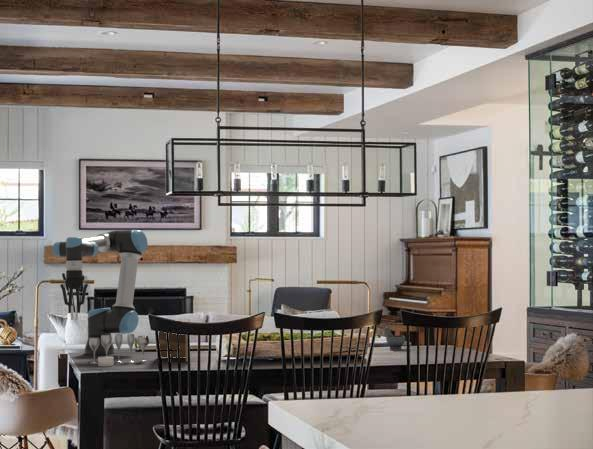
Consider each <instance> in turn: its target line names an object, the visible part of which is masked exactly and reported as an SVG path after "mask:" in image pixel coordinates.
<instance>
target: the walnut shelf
mask: <svg viewBox="0 0 593 449" xmlns="http://www.w3.org/2000/svg"><path fill="white" fill-rule="evenodd" d="M174 320H175V321H182V322H190V321H191V320H190V319H187V318H186V319H174ZM190 323H191V322H190ZM159 344H160V349H161V350H162V349H167V339H166V333H164V332H159ZM169 345H170V349H175V350H176V349H177V335H176V334H172V333H169ZM179 346H180V357H182V358H183V357H186V359H185V363H186V362H187V358H188V350H187V335H181V334H180V335H179ZM170 354H171V358H173V357H176V358H177V351H171V352H170ZM161 356H162V357H167V351H165V352H164V351H161Z"/></svg>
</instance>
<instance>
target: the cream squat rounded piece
mask: <svg viewBox="0 0 593 449" xmlns="http://www.w3.org/2000/svg"><path fill="white" fill-rule="evenodd" d="M114 359H115V358H114V356H110V355H107V356H106V355H103V356H98V357H97V362H98V363H97V366H98V367H112V365H113V366H114V364H115V361H114Z"/></svg>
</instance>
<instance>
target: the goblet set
mask: <svg viewBox="0 0 593 449" xmlns="http://www.w3.org/2000/svg"><path fill="white" fill-rule="evenodd" d="M114 334H115V335H114V343H115V346H116V349H117V352H118V354H117V355H118V356H117V358H120V351H121V347H122V345H123V340H124V339H123V334H121V333H114ZM135 340H136V344H137V345H138V347H139V348H140V350H141V351H142V355H144V353H145V349H146V348H147V346H148V345H149V344H150V338H149V336H148V335H138V336H137V338H136V339H135V333H129V334H127V337H126V342H127V345H128V347H129V351H130V353H129V354H132V353H133V352H132V350H133V347H134V345H135ZM101 343H102V346H103V347H104V348H105V350H106V354H105V356H108V354H107V351H108V349H109V347H110V346H111V343H113V334H111V335H101ZM89 345H90V347H91V349H92V350H93V353H94V355H93V361H92V362H90V364H98V363H97V362H98V361H96V360H95V359H96V355H95V352H96V350H97V348H98V346H99V338H98V337H92V338H90V339H89ZM141 361H142V363H144V362H143V361H146V360H144V358H142V360H141ZM116 362H120V363H122V361H121V360H120V359H118V360H117V361H116ZM127 363H135V362H134V360H129V361H128V362H127Z"/></svg>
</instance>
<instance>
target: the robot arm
mask: <svg viewBox="0 0 593 449" xmlns="http://www.w3.org/2000/svg"><path fill="white" fill-rule="evenodd" d="M147 249H148V238H147V236H146V233H144V231H143V230H139V229H138V230H137V229H124V230H123V229H122V230H119V229H116V230H112V231H108V232H103V233H99V234H98V235H96V236H92V237H87V238H83V237H80V236H77V237H76V236H75V237H71V236H70V237H69V236H68V237H67V238H66V240H65V241H57V242H54V243H53V245H52V254H53V256H55V257H56V258H65V259H66V261H65V270H66V272H65V281H64V282H62V283H61V284H60V285H59V287H60V289H61V290H62V295H63V296H62V297H63V302H64V305H66V306H68V313H70V320H71V321H73V320H74V317H75V321H76V320H77V321H78V319H79V315H78V314H79V313H81V305H84V304H85V298H86V293H87V289H88V287H89V284H88V283H86V282H84V279H83V270H82V269H83V258H92V257H95V256H97V255H98V252H99V253H106V252H107V253H111V252H112V253H118V256H120V258H121V259H120V268H119V276H118V283H117V290H116V300H115V303H114V304H112V307H104V308H95V309H89V311H88V312H87V340H86V343H85V347H84V354H85V355H93V356H94V353H93V350H92V349H91V347H90V345H89V339H90V338H92V337H98V338H99V346H98V348H97V350H96V352H95V356H96V355H99V356H100V355H106V350H105V348H104V347H103V346H102V343H101V335H112V334H122V335H125V334H127V335H128V334H133V333H134V332H135V331H136V329H137V327H138V325H139V313H138V312H137V311H136V308H135V306H134V304H133V303H134V297H135V296H134V295H135V288H136V281H137V272H138V264H139V263H138V262H139V260H140V259H141V258H142V256H143V255H142V254H143V253H145V252H146V251H147ZM66 286H67V287H68V289H69V291H68V295H67V290H66ZM81 287H83V289H82V295H81V297H80V289H81ZM74 290H75V295H76V305H75V308H74V305H73V291H74ZM80 298H81V299H80ZM74 312H75V314H74ZM74 315H75V316H74ZM111 354H115V347H114V344H113V342H112V343H111V346H110V347H109V349H108V351H107V355H111Z"/></svg>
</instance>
